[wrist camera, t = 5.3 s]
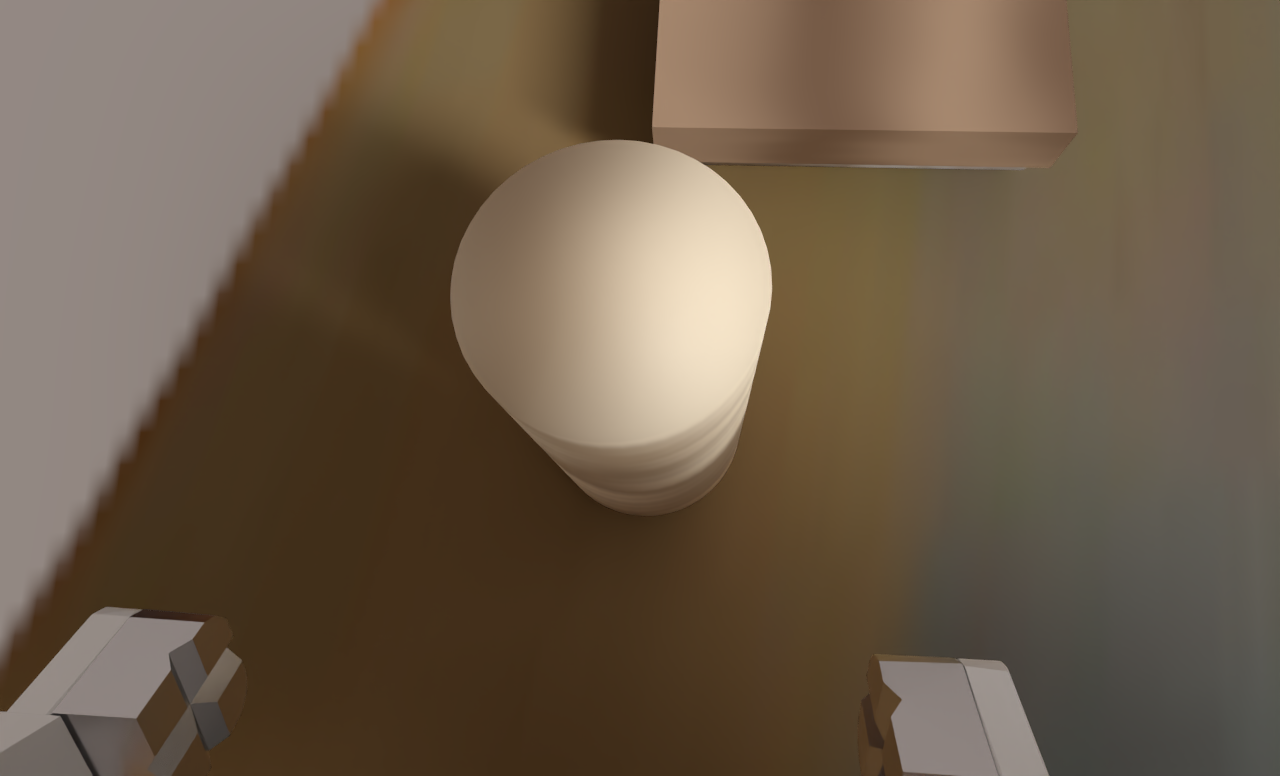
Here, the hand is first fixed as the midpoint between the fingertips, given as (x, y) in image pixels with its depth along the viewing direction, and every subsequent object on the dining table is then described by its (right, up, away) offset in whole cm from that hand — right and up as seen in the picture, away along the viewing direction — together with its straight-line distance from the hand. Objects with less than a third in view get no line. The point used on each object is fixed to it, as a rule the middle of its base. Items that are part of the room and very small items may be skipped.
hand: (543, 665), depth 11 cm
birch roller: (+1, +3, +12) cm, 12 cm away
